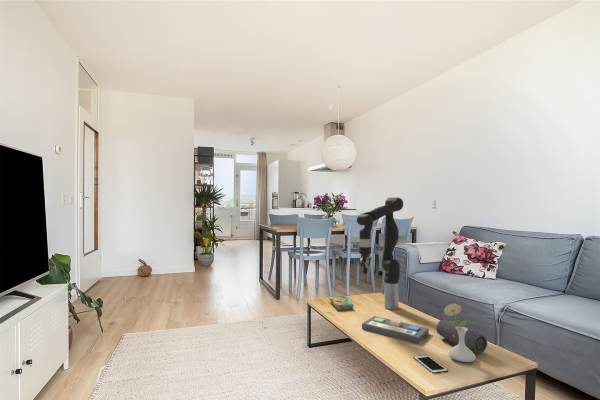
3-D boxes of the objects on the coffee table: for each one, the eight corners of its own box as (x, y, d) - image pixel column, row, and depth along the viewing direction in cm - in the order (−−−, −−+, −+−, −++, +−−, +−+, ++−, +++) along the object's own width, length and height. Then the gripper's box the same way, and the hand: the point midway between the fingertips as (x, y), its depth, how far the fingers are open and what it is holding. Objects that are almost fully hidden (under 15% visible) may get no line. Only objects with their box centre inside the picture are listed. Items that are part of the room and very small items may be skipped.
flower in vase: (473, 355, 151) (473, 301, 151) (478, 366, 140) (477, 308, 141) (443, 351, 155) (442, 298, 156) (445, 362, 145) (445, 306, 145)
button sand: (393, 325, 185) (393, 318, 185) (402, 327, 182) (402, 320, 182) (389, 327, 181) (389, 321, 181) (398, 329, 178) (398, 323, 178)
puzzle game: (336, 304, 215) (328, 295, 235) (336, 311, 215) (328, 302, 235) (353, 303, 217) (344, 294, 237) (353, 310, 217) (344, 301, 237)
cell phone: (427, 356, 151) (427, 354, 151) (449, 372, 136) (449, 370, 136) (412, 358, 149) (412, 356, 149) (433, 374, 135) (432, 372, 135)
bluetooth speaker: (435, 339, 169) (435, 319, 170) (448, 336, 173) (448, 317, 173) (474, 357, 149) (473, 336, 149) (488, 354, 152) (487, 332, 152)
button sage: (377, 323, 191) (377, 317, 191) (385, 325, 188) (385, 319, 188) (373, 325, 187) (373, 319, 187) (381, 327, 184) (381, 321, 184)
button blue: (410, 331, 179) (410, 324, 179) (420, 333, 175) (420, 327, 176) (407, 334, 175) (407, 327, 175) (416, 336, 172) (416, 329, 172)
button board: (374, 320, 196) (374, 314, 196) (428, 333, 176) (428, 327, 176) (361, 328, 184) (361, 322, 184) (418, 343, 164) (418, 336, 164)
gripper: (364, 244, 212) (364, 270, 212) (354, 246, 202) (354, 274, 202) (375, 245, 208) (375, 272, 207) (365, 247, 197) (365, 275, 197)
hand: (365, 273), depth 205 cm, fingers closed
